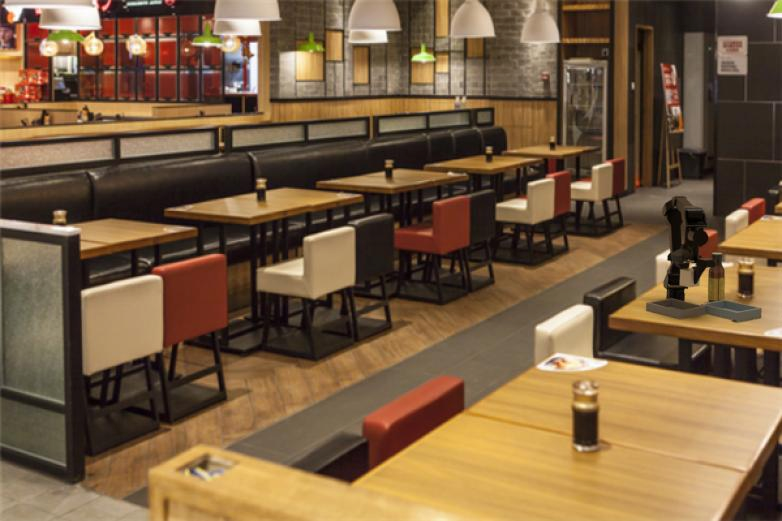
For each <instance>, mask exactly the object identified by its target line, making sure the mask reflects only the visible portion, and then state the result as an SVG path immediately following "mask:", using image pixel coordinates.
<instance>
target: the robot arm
mask: <svg viewBox="0 0 782 521" xmlns="http://www.w3.org/2000/svg"><path fill="white" fill-rule="evenodd" d="M661 209H662V211H661V212H662V214H661V215H662V217H663V222H664V223H665V225H666V226H667V227H668V236H669V237H668V238H669V253H668V254H667V257H666V258H667V259H666V261H668V262H670V264H669V266H668V268H667V269H666V274H665V277H664V279H663V281H662V283H663V284H662V285H663V286H662V287H663V288H664V289H665V290H666V299H670V298H672V299H677V300H681V301H685V299H686V293H685V290H688V289H689V287H686V286H681V285H680V269H686V268H690V264H691V263H692V264H695V265H694V266H691V268H693V270H694V284H697V282H698V281H699V279H700V278H701V277H702V275H703V274H704V272H705V271H706V270H707V269H709V268H710V267H715V260H714V259H712V258H708V257H703V256H702V254H700V248H702V247H703V246H704V245H705V246H706V244H707V243H708V242H709V238H710V237H709V234H708V232H706V231H705V230H704V228H708V219H707V215H706V213H705V210H704V209H703V207H701V206H695V205H693V204H692V203H691V202H690V201H689V200H688V198H687V196H684V195H674V196H672V198H671V199H669V200H668V201H666V202H664V204H663V207H662V208H661ZM682 224H683V226H684V230H683V232H684V233H683V240H682ZM700 280H701V279H700ZM685 302H686V301H685Z"/></svg>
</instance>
